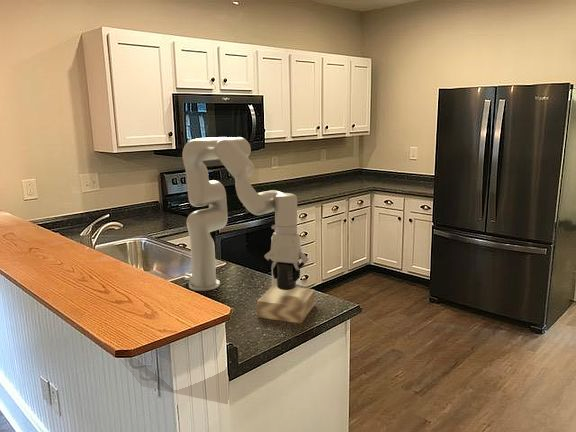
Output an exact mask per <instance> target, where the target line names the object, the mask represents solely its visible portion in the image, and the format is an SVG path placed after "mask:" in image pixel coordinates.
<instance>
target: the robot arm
mask: <svg viewBox="0 0 576 432" xmlns="http://www.w3.org/2000/svg"><path fill="white" fill-rule="evenodd" d="M251 151H252V148H251V144H250V143H249V141H248V140H247V139H246V138H244V137H241V136H237V137H235V136H234V137H232V136H231V137H230V136H229V137H227V136H218V137H200V138H195V139H191V140H189V141H188V142H186V143H185V145H184V147H183V149H182V161H183V166H184V169H185V175H186V187H187V198H188V202H189V203H190V205H191V206H192V207H196V208H198V207H205V206H206V207H207V206H208V208H203V209H197V210H194V211H192V212H191V213H190V214H188V216H187V218H186V227H187V231H188V232H187V233H188V236H189V242H190V243H189V245H190V259H191V260H190V261H191V273H185V274H184V280H185V281H186V280H188V281H189V283H188V288H189V289H190V290H192V291H197V292H206V291H211V290H213V291H214V290H215V289H218V288H219V287H221V286H220V285H221V282H220V280H219V279H217V271H216V268H217V267H216V250H215V249H216V248H215V247H216V246H215V241H214V239H213V237H212V235H211V233H212V232H215V231H218V230H221V229H223V228H225V227H226V225H227V224H228V216H229V215H228V205H227V203H228V202H227V192H226V188H225V186H224V185H223V184H222V183H221V182H220V181H218V180H215V179H212V180H210V179H209V171H208V168H207V165H206V164H205V163H204V162H205V161H214V160H219V161H220V162H221V164H222V165H223V166H224V167H225V169H226V170H227V171H228V172H229V173H230V175H231V176H232V177H233V179H234V181H235V182H234V183H235V185H234V186H235V191H236V195H237V197H238V200H239V201H240V203H242V205H243V206H244V207H245V209H246V210H248V212H250V214H253V215H254V216H262V215H266V214H270V213H273V212H274V223H275V224H272V225H271V230H274V232H273V233H272V236H271V237H272V242H271V243H270V250H269V251H268V252H267V253H265V254H264V255H263V257H264V258H265V259H266V260H267V262H268V263H269V265H271V269H272V268H273V275H274V279H276V278H277V269H276V265H277V263H278V262H282V263H292V264H294V266H295V270H294V281H296V282H297V281H298V280H299V279H300V277H301V268H302V267H304V266H305V264H307V263H308V261H309V259H310V258H309V257H307V255H306V254H305V253H304V252H303V251H302V244H301V238H300V233H299V232H298V197H297V195H296V194H294V193H292V192H291V193H289V192H282V191H280V190H276V189H272V190H271V189H270V190H267V191H261V192H257V191H256V189H254V187H253V186H252V184H251V183H250V181H249V178H250V177H251V176H252V175H253V174H254V171H255V168H256V167H255V165H254V163H253V162H252V161H251V159H250V158H249V156H250V155H251ZM301 259H302V261H301V262H300V260H301Z"/></svg>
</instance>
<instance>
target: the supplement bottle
mask: <svg viewBox="0 0 576 432" xmlns="http://www.w3.org/2000/svg"><path fill="white" fill-rule="evenodd" d="M276 269H277V287H278V288H279V289H281V290H292V289H294V288H295V287H296V288H297V281H294V270H295V266H294V264H292V263H282V262H278V263H277V265H276Z"/></svg>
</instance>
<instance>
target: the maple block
mask: <svg viewBox="0 0 576 432" xmlns="http://www.w3.org/2000/svg"><path fill="white" fill-rule="evenodd" d="M256 302H257V304H256V305H257V307H256V308H257V309H256V310H257V311H256V312H257V313H256V315H257V318H261V319H267V320H275V321H280V322H289V323H295V324H303V322H304V321H305V319H306V318H307V317H308V315H309V314H310V312H311V311H312V309H313V308H314V306H315V289H313V288H311V289H310V288H303V287H297V286H296V287H295V288H294V289H292V290H281V289H279V288H278V287H277V285H273V286H272V285H271V286H270V288H269V289H267V290H266V291H265V292H264V293H263V295H262V296H260V298H259V299H258V300H257V301H256Z"/></svg>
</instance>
